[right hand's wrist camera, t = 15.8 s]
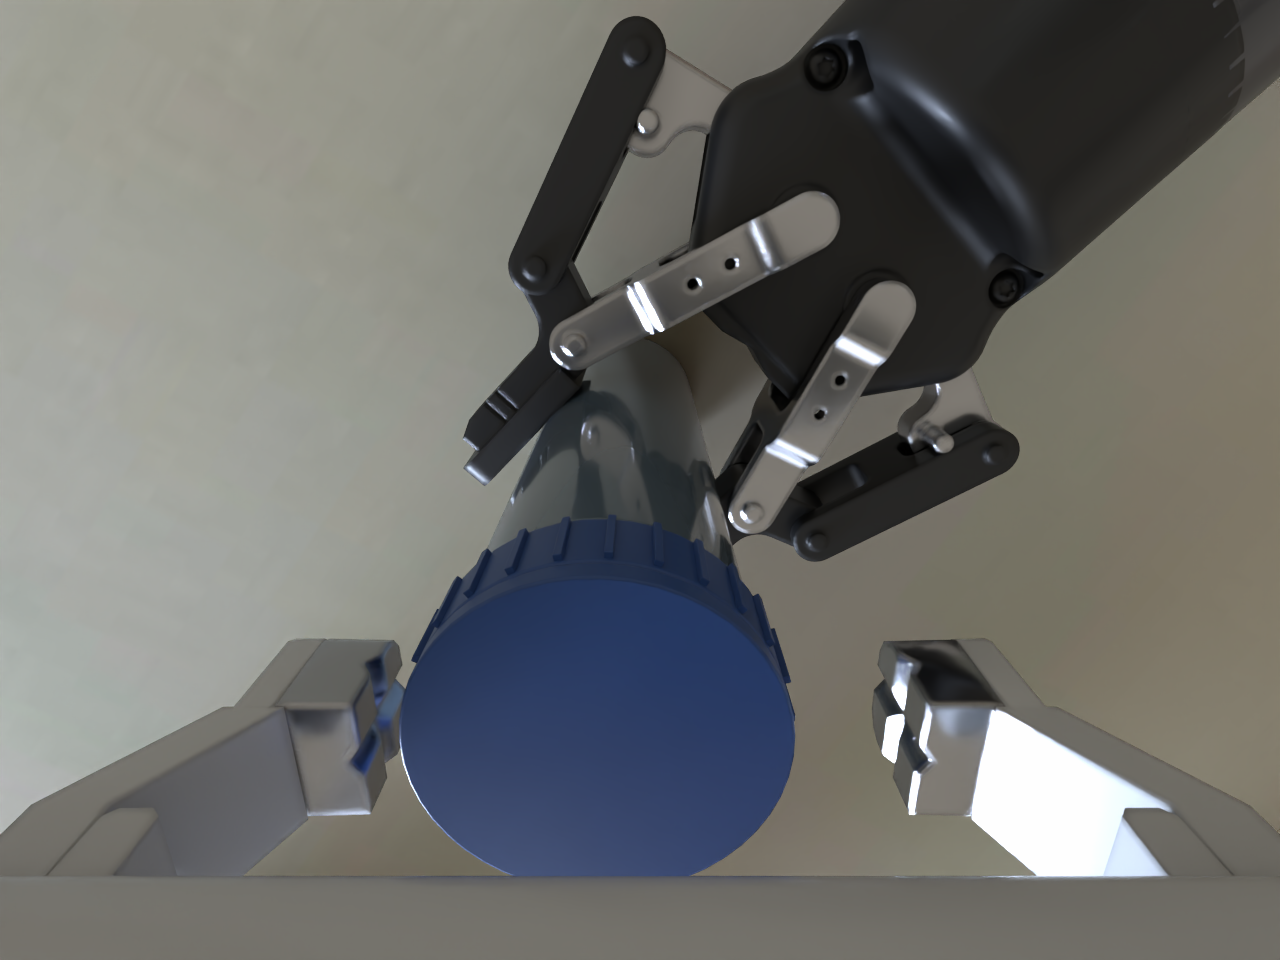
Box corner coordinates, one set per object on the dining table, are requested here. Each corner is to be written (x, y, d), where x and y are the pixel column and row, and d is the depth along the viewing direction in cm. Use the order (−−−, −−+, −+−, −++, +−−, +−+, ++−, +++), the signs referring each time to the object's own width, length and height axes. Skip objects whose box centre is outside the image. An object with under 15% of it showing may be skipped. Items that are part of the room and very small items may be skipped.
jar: (699, 451, 25) (785, 826, 10) (575, 470, 25) (474, 863, 10) (681, 325, 23) (753, 541, 8) (549, 347, 24) (384, 593, 8)
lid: (833, 570, 10) (868, 637, 8) (708, 835, 11) (719, 932, 10) (472, 465, 9) (438, 516, 7) (399, 760, 11) (360, 850, 9)
